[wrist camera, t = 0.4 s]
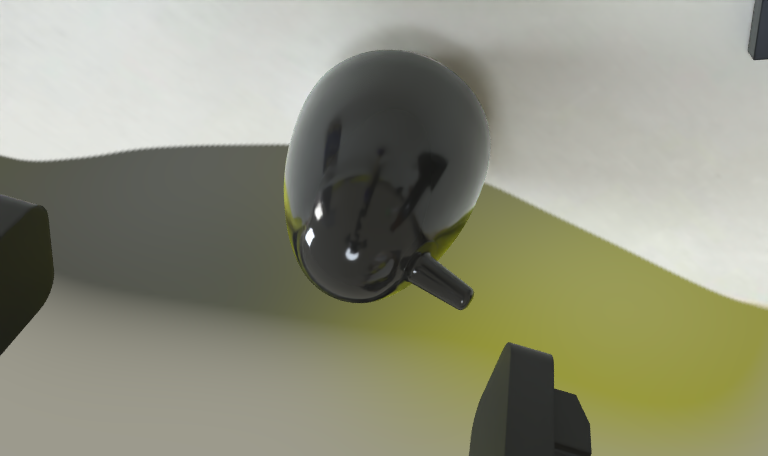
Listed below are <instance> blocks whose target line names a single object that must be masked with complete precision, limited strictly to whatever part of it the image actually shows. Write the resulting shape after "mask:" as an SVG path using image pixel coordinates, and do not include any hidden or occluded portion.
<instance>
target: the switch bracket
mask: <svg viewBox="0 0 768 456" xmlns="http://www.w3.org/2000/svg"><path fill="white" fill-rule="evenodd" d="M748 52H749V54H750V55H751V57H752V59H753V60H765V59H768V0H755V7H754V14H753V20H752V27H751V34H750V40H749V47H748Z"/></svg>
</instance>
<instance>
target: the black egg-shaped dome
mask: <svg viewBox="0 0 768 456" xmlns="http://www.w3.org/2000/svg"><path fill="white" fill-rule="evenodd" d="M490 150H491V139H490V130H489V125H488V121H487V118H486V115H485V113H484V110H483V108H482V106H481V104H480V102H479V100H478V99H477V97H476V96H475V94H474V93H473V91H472V90H471V89H470V88H469V87H468V85H467V84H466V83H465V82H464V81H463V80H462V79H461V78H460V77H459V76H457V75H456V74H455V73H454V72H452V71H451V70H450V69H449V68H447V67H446V66H444V65H443V64H441V63H440V62H438V61H436V60H434V59H432V58H430V57H427V56H425V55H421V54H418V53H414V52H409V51H401V50H379V51H371V52H366V53H362V54H359V55H356V56H353V57H351V58H348V59H346V60H344V61H342V62H341V63H339V64H337V65H336V66H334V67H333V68H332V69H330V70H329V71H328V72H327V73H326V74H325V75H324V76H323V77H322V78H321V79H320V80H319V81H318V82H317V84H316V85H315V86H314V88H313V89H312V91H311V92H310V94H309V95H308V97H307V99H306V101H305V102H304V104H303V107H302V109H301V111H300V114H299V116H298V119H297V122H296V125H295V128H294V131H293V134H292V138H291V141H290V145H289V149H288V154H287V160H286V166H285V176H284V204H285V216H286V223H287V229H288V235H289V239H290V243H291V246H292V249H293V252H294V255H295V257H296V259H297V262H298V264H299V265H300V267H301V269H302V271H303V272H304V274H305V275H306V276H307V278H308V279H309V280H310V281H311V282H312V283H313V284H314V285H315V286H316V287H317V288H318V289H319V290H321V291H322V292H324V293H325V294H327V295H329V296H331V297H333V298H336V299H339V300H342V301H346V302H352V303H368V302H374V301H378V300H381V299H384V298H386V297H389V296H391V295H393V294H395V293H397V292H399V291H401V290H402V289H404V288H406V287H407V286H409V285H411V284H414V285H416V286H418V287H419V288H421V289H423V290H425V291H426V292H428V293H430V294H432V295H433V296H435V297H437V298H439V299H440V300H442V301H444V302H446V303H448V304H449V305H451V306H453V307H455V308H456V309H458V310H463V309H465V308H467V307H468V305H469V304H470V303H471V301H472V299H473V296H474V291H473V289H472V288H471V287H470V286H468V285H467V284H466V283H465V282H463V281H462V280H461V279H459V278H458V277H457V276H456V275H454V274H453V273H452V272H451V271H449V270H448V269H447V268H445V267H444V266H443V265H442V264H440V263H439V262H438V260H439V259H440V257H441V256H442V255H443V254H444V253H445V252H446V251H447V249H448V248H449V247H450V246H451V244H452V243H453V242H454V240H455V239H456V238H457V236H458V235H459V233H460V232H461V230H462V228H463V227H464V225H465V224H466V222H467V220H468V218H469V216H470V214H471V213H472V210H473V208H474V206H475V204H476V202H477V199H478V197H479V194H480V192H481V189H482V187H483V184H484V181H485V178H486V174H487V170H488V166H489V160H490Z"/></svg>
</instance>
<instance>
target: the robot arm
mask: <svg viewBox="0 0 768 456" xmlns="http://www.w3.org/2000/svg"><path fill="white" fill-rule="evenodd" d="M53 279H54V267H53V257H52V249H51V239H50V229H49V219H48V214H47V211H46V209H45V208H44V207H43V206H41V205H37V204H34V203H30V202H26V201H23V200H20V199H16V198H13V197H9V196H6V195H2V194H0V355H1V354H2V353H3V352H4V351H5V349H6V348H7V347H8V346H9V345H10V344H11V343H12V341H13V340H14V339H15V338H16V337H17V336H18V334H19V333H20V332H21V331H22V330H23V329H24V327H25V326H26V325H27V324H28V323H29V322H30V320H31V319H32V318H33V317H34V316H35V315H36V313H37V312H38V311H39V310H40V308H41V307H42V306H43V305H44V303H45V302H46V300H47V298H48V296H49V294H50V291H51V288H52V284H53ZM469 456H591V436H590V423H589V421H588V420H587V417H586V415H585V413H584V411H583V409H582V407H581V405H580V402H579V400H578V398H577V396H576V395H574V394H571V393H568V392H564V391H561V390H557V389H554V361H553V357H552V355H551V354H547V353H544V352H541V351H537V350H534V349H530V348H527V347H523V346H520V345H517V344H513V343H509V342H508V343H507V344H506V345H505V347H504V349H503V351H502V353H501V355H500V357H499V360H498V362H497V364H496V366H495V368H494V371H493V373H492V375H491V377H490V379H489V381H488V384H487V386H486V388H485V390H484V392H483V394H482V397H481V399H480V402H479V405H478V408H477V411H476V415H475V418H474V423H473V427H472V434H471V443H470V452H469Z"/></svg>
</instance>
